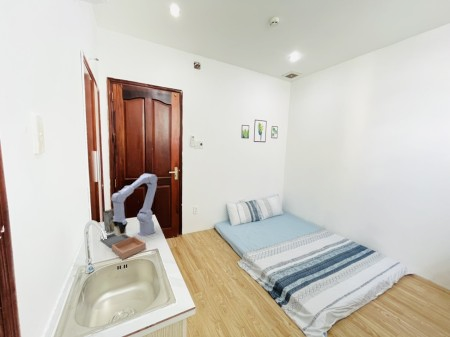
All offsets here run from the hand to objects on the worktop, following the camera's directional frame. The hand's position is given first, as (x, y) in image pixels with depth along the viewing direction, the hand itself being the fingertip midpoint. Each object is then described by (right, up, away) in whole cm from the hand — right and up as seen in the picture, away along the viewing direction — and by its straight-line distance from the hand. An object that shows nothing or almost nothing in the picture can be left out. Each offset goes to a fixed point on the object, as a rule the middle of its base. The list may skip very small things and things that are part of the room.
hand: (120, 232), depth 123 cm
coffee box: (-17, -6, +21) cm, 28 cm away
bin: (+8, -10, -5) cm, 13 cm away
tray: (-6, -8, +6) cm, 12 cm away
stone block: (0, -1, 0) cm, 1 cm away
